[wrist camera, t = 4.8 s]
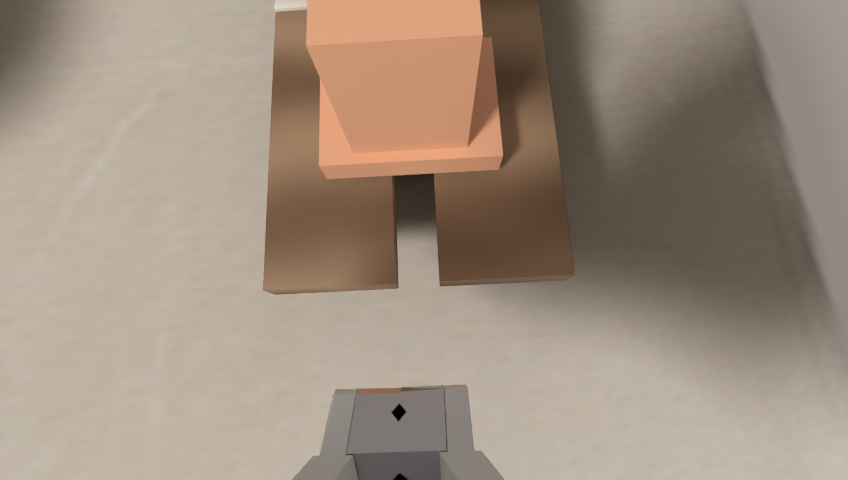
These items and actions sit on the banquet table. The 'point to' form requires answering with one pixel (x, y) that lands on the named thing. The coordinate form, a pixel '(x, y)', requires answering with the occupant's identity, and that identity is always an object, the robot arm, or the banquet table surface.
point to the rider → (403, 87)
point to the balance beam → (454, 192)
